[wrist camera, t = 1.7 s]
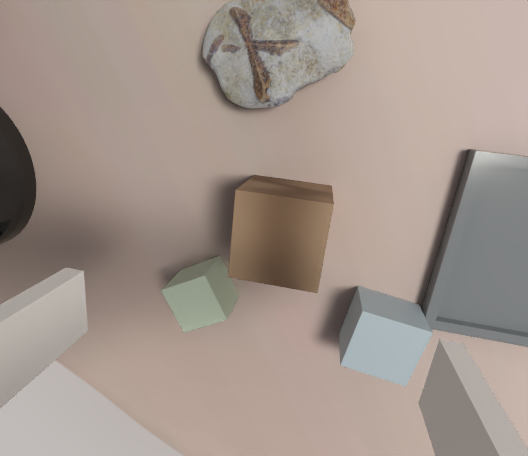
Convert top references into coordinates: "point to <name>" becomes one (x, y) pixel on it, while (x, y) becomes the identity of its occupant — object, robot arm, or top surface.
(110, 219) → the top surface
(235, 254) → the block walnut
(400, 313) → the block bluegrey
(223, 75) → the stone
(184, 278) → the block sage
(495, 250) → the tray
